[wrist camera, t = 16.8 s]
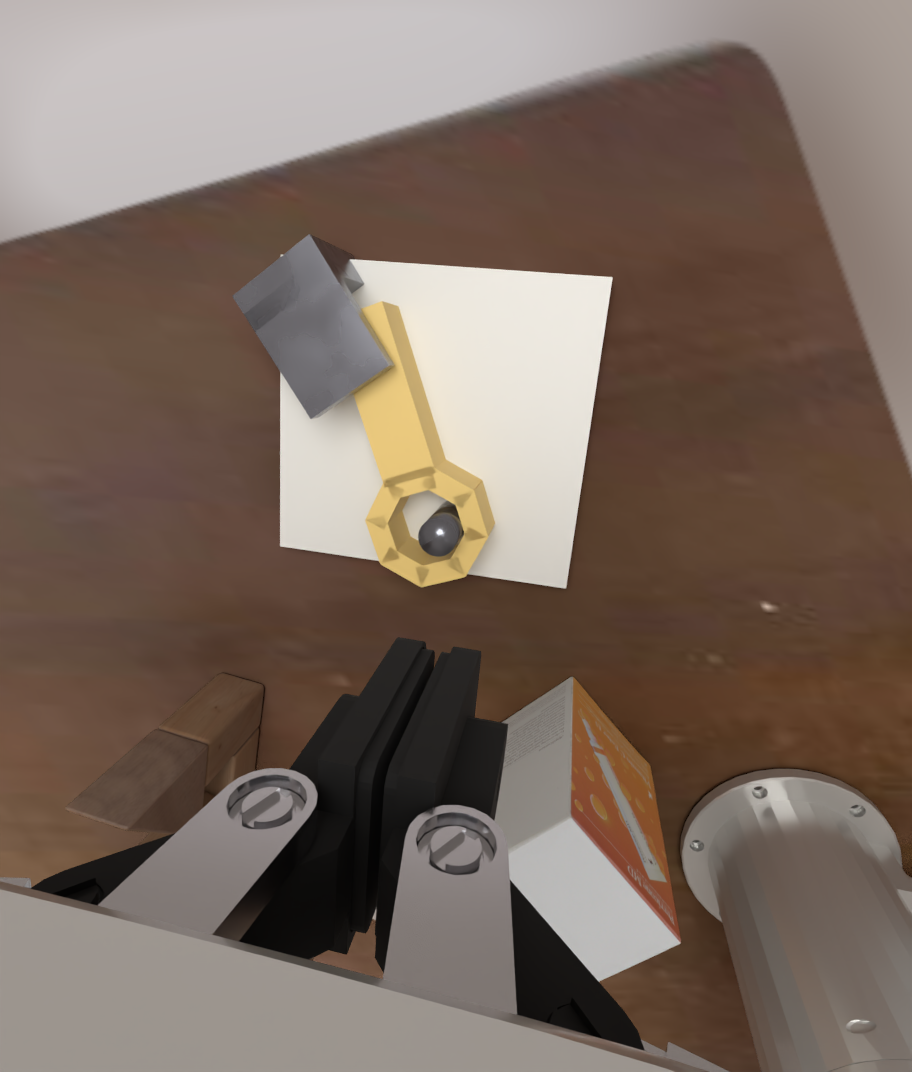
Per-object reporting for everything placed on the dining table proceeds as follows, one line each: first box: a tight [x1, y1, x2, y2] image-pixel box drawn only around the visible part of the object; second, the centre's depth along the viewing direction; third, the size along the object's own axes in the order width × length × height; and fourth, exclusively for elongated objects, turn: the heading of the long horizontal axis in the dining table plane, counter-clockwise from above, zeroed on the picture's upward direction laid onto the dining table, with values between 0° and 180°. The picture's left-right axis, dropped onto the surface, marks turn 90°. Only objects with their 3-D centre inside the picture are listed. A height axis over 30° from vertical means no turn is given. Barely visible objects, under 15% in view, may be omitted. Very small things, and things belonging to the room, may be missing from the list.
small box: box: [494, 677, 681, 982], centre depth 34 cm, size 8×6×13 cm
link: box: [353, 301, 495, 587], centre depth 34 cm, size 15×6×3 cm, turn 18°
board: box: [280, 255, 613, 589], centre depth 35 cm, size 18×17×1 cm
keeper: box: [233, 234, 395, 419], centre depth 33 cm, size 7×5×6 cm
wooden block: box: [65, 673, 264, 845], centre depth 37 cm, size 4×11×18 cm, turn 169°
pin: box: [418, 501, 464, 557], centre depth 34 cm, size 2×2×6 cm
